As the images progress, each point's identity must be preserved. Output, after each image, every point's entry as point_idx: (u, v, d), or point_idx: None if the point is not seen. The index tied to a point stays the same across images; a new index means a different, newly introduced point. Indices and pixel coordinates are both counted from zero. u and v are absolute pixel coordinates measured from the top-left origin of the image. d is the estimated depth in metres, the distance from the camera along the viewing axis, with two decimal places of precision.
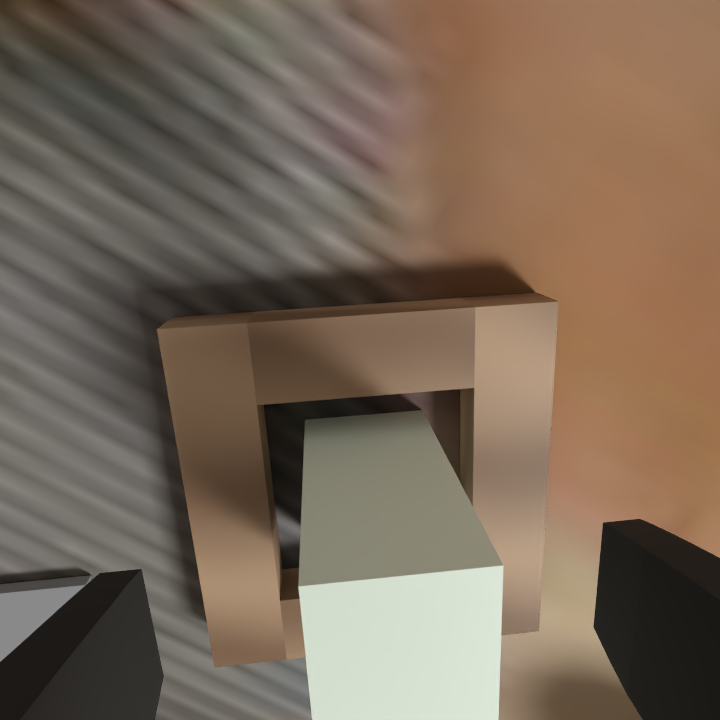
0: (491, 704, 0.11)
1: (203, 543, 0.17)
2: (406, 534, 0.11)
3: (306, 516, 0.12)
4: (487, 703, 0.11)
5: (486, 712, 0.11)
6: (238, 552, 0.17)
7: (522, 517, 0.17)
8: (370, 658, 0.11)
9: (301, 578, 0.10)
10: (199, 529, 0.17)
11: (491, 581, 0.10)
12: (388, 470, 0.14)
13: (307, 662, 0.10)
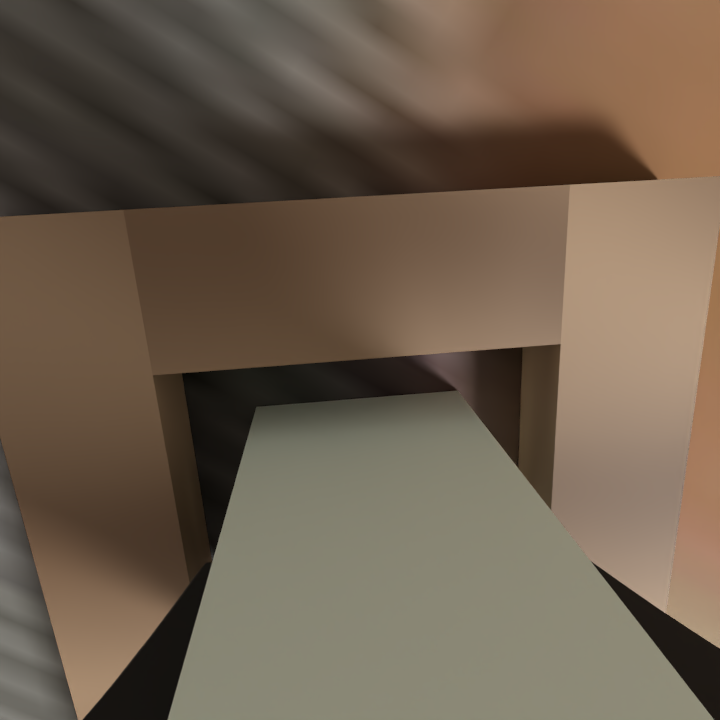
0: None
1: (70, 627, 0.09)
2: (472, 712, 0.04)
3: (205, 634, 0.05)
4: None
5: None
6: (135, 641, 0.10)
7: (632, 575, 0.10)
8: None
9: None
10: (61, 603, 0.09)
11: None
12: (408, 505, 0.07)
13: None
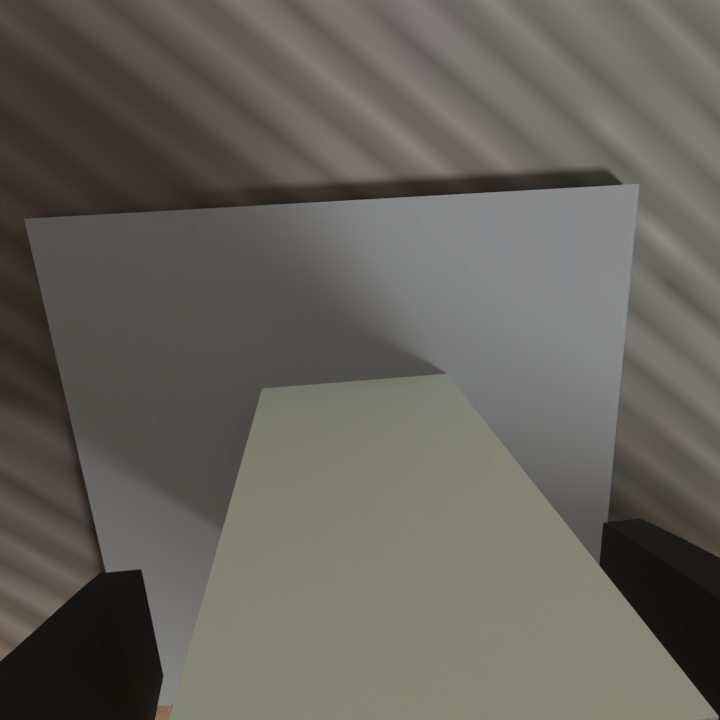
0: None
1: None
2: (444, 613, 0.05)
3: (226, 562, 0.06)
4: None
5: None
6: None
7: None
8: None
9: None
10: None
11: None
12: (398, 466, 0.08)
13: None
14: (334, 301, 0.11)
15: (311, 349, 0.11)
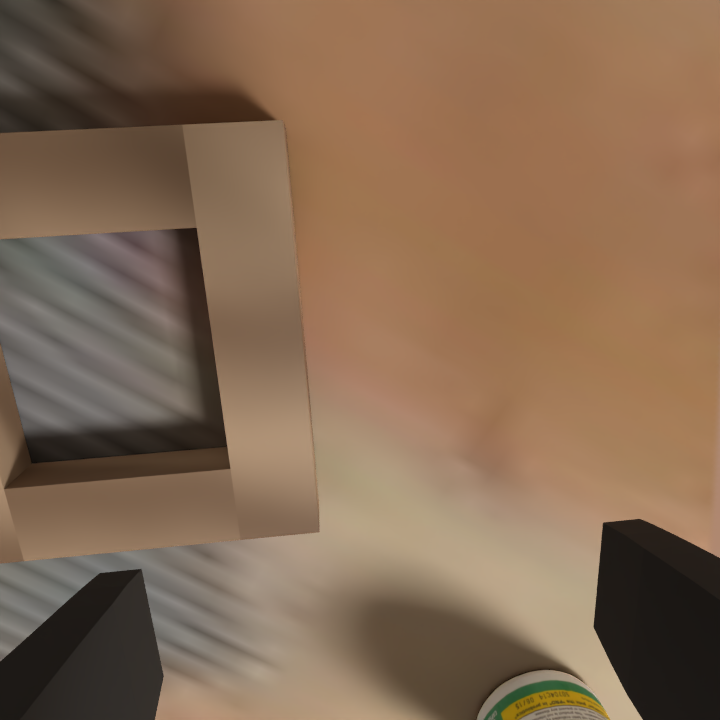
0: None
1: None
2: None
3: None
4: None
5: None
6: None
7: (279, 391, 0.15)
8: None
9: None
10: None
11: None
12: None
13: None
14: None
15: None
